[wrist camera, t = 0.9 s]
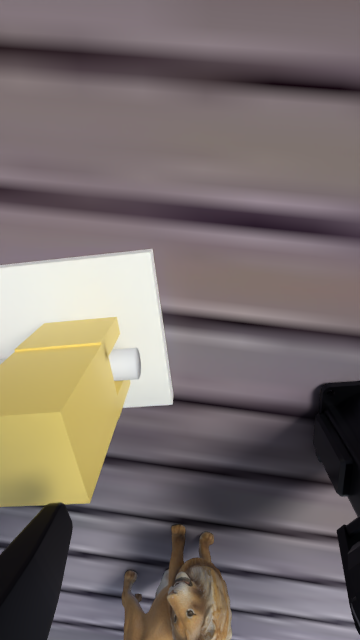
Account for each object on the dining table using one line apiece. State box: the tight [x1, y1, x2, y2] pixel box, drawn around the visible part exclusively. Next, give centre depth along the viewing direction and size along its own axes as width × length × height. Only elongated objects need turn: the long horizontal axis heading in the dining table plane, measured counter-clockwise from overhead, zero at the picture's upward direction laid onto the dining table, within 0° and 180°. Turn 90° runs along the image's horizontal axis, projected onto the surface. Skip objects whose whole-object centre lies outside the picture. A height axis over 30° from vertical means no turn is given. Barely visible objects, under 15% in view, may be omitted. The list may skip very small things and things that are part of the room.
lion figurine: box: [122, 524, 232, 640], centre depth 24 cm, size 15×5×9 cm, turn 154°
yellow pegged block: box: [0, 317, 131, 507], centre depth 14 cm, size 4×4×8 cm
